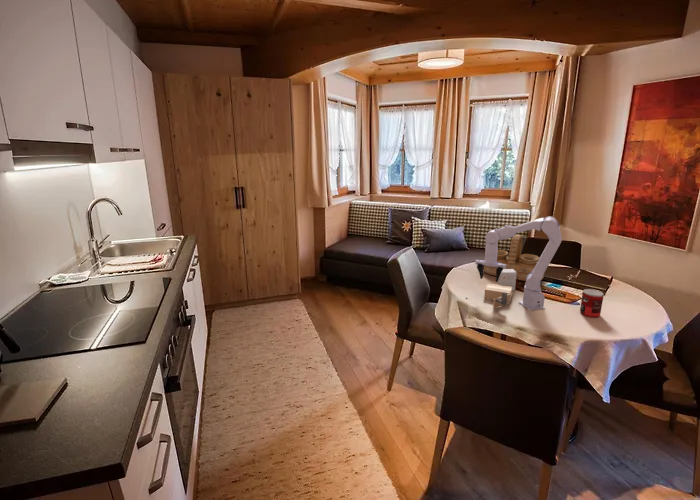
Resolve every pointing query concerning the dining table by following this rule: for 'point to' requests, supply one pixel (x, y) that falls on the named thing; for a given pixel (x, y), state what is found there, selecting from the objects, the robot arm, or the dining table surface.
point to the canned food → (591, 303)
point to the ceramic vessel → (515, 260)
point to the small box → (507, 278)
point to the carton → (496, 291)
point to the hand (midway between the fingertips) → (489, 279)
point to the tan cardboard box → (502, 300)
